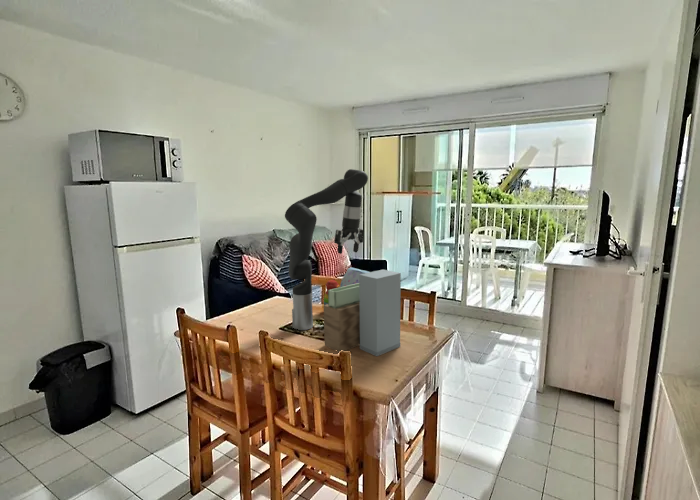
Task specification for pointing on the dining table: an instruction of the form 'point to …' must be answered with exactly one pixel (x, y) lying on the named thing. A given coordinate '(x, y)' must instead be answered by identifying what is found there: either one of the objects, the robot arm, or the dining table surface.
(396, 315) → the block
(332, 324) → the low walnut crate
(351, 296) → the sage crate
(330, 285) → the stacking bear
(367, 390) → the dining table surface
